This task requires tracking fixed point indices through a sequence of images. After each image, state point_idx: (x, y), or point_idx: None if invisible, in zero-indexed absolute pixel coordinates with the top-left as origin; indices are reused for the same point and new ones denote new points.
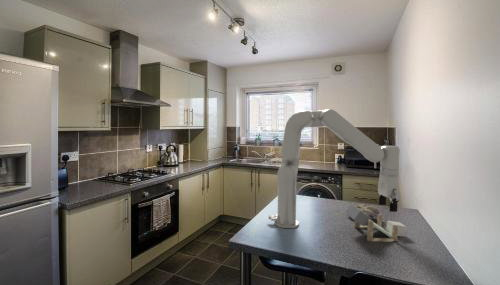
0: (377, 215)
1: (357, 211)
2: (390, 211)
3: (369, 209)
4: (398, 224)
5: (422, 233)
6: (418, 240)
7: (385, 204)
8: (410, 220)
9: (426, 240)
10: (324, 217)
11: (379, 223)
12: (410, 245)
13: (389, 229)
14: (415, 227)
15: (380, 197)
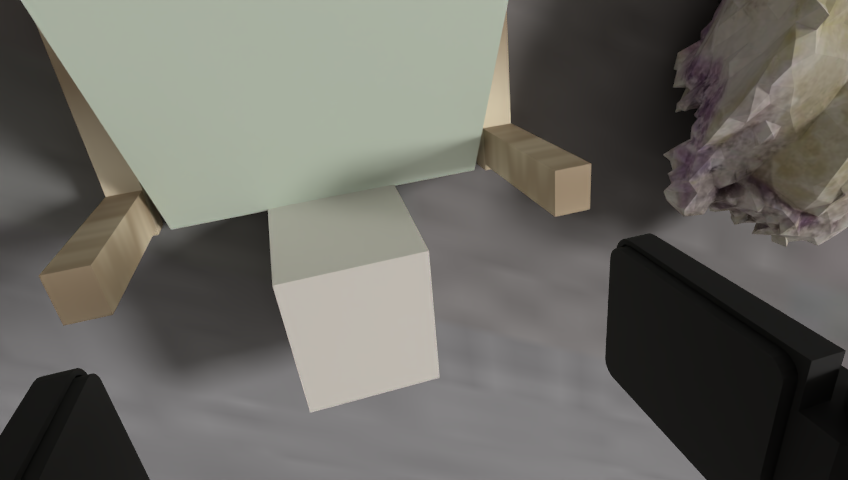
0: (681, 186)
1: None
2: (46, 379)
3: (822, 114)
4: (335, 350)
5: (417, 473)
6: (245, 419)
7: (608, 366)
8: (673, 446)
9: (266, 472)
10: None
11: (500, 152)
12: (75, 330)
13: (326, 220)
14: (537, 451)
15: (772, 373)
